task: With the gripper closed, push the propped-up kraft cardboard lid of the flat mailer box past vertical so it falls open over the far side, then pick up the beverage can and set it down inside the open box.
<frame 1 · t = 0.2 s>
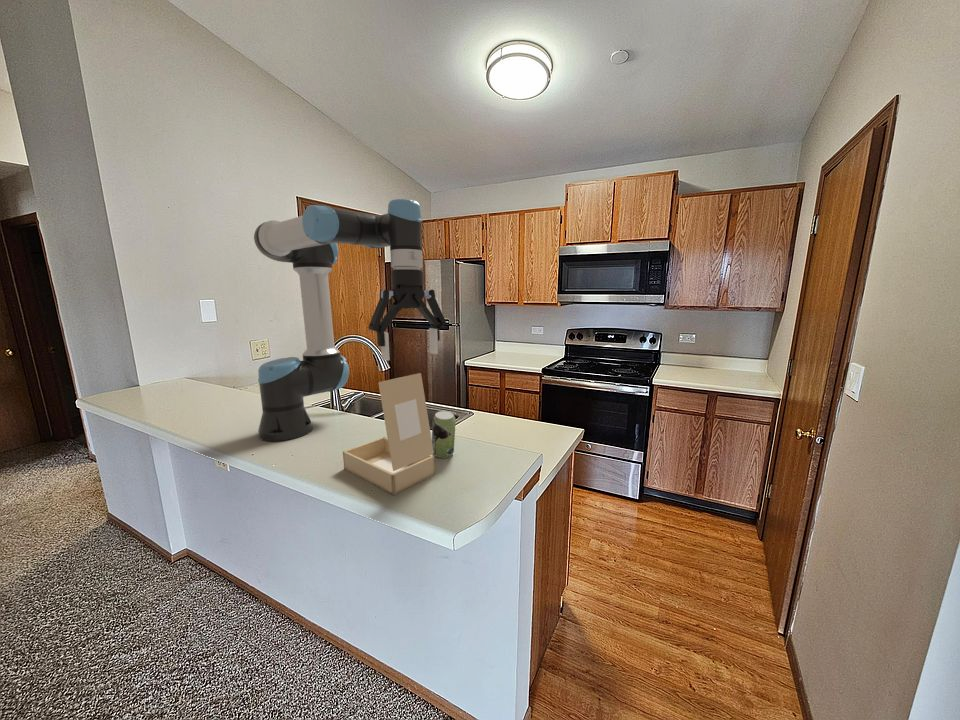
hand: (410, 356, 94), 27 cm above the table, fingers open, 13 cm apart
mailer box: (389, 471, 93), on the table
beverage can: (444, 456, 101), on the table
lid: (407, 419, 85), point 15 cm above the table, hinge at 80.0°
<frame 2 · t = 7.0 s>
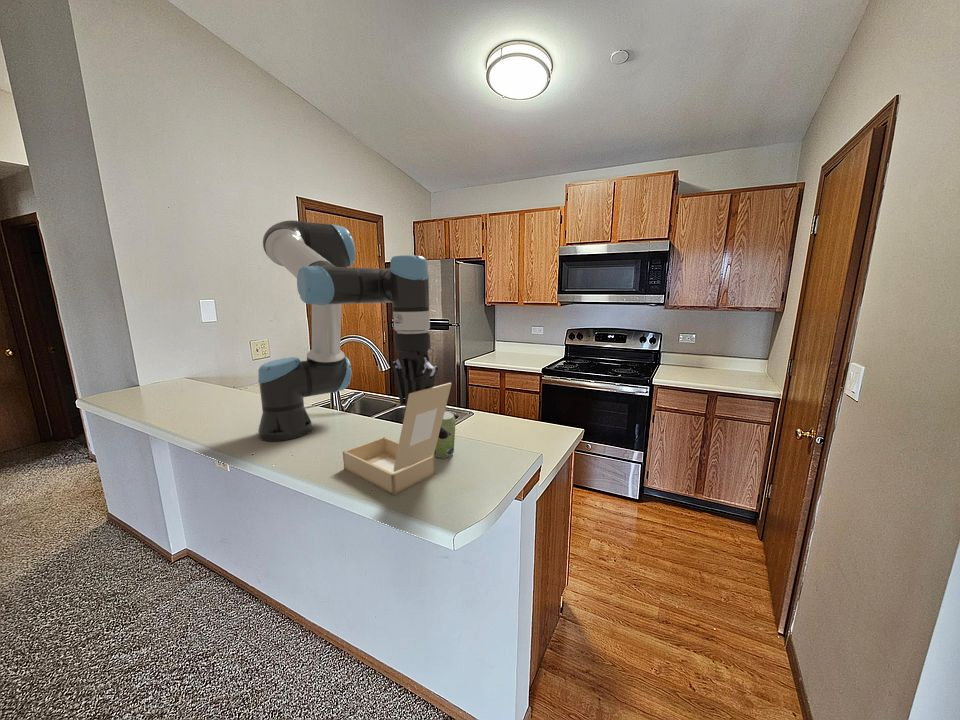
hand: (416, 437, 84), 11 cm above the table, fingers closed
lid: (422, 426, 82), point 14 cm above the table, hinge at 109.8°, touching gripper
everything else where it was.
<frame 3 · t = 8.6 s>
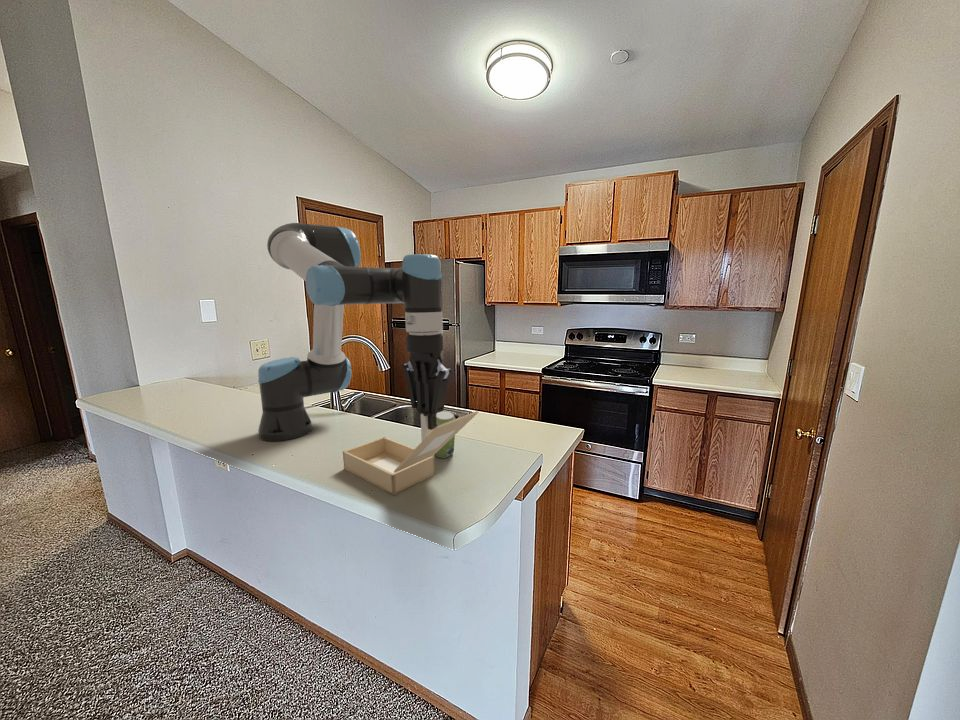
hand: (428, 442, 81), 11 cm above the table, fingers closed
lid: (435, 442, 80), point 12 cm above the table, hinge at 136.7°
everything else where it was.
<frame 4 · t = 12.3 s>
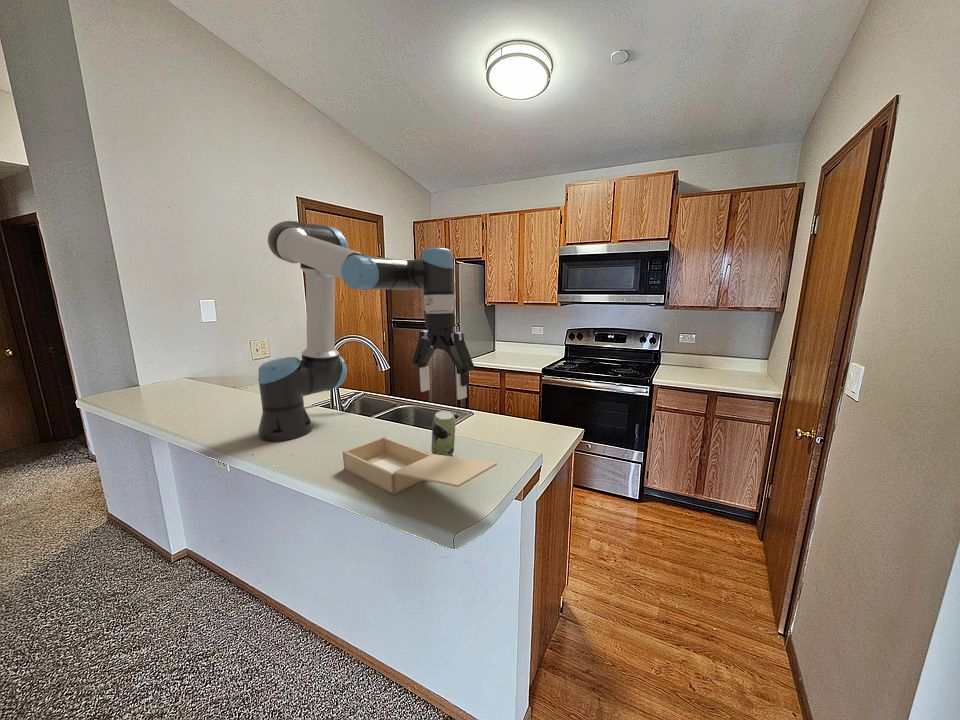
hand: (442, 394, 98), 17 cm above the table, fingers open, 13 cm apart
lid: (444, 468, 79), point 7 cm above the table, hinge at 170.1°
everything else where it was.
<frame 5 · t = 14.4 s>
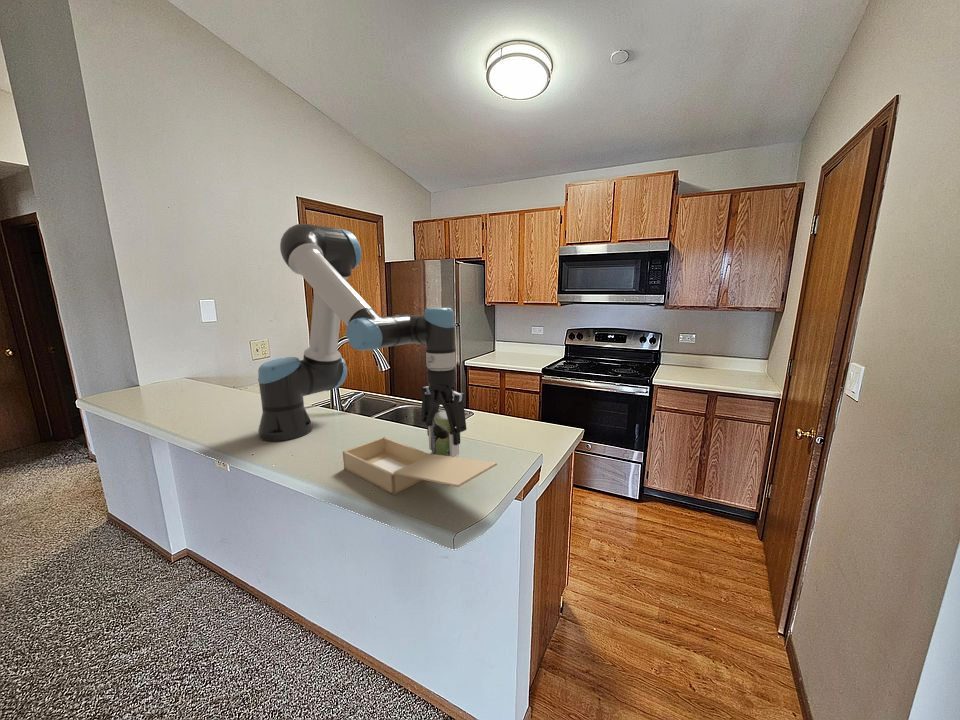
hand: (443, 451, 101), 1 cm above the table, fingers closed on beverage can, 7 cm apart
beverage can: (444, 456, 101), on the table, touching gripper
everything else where it was.
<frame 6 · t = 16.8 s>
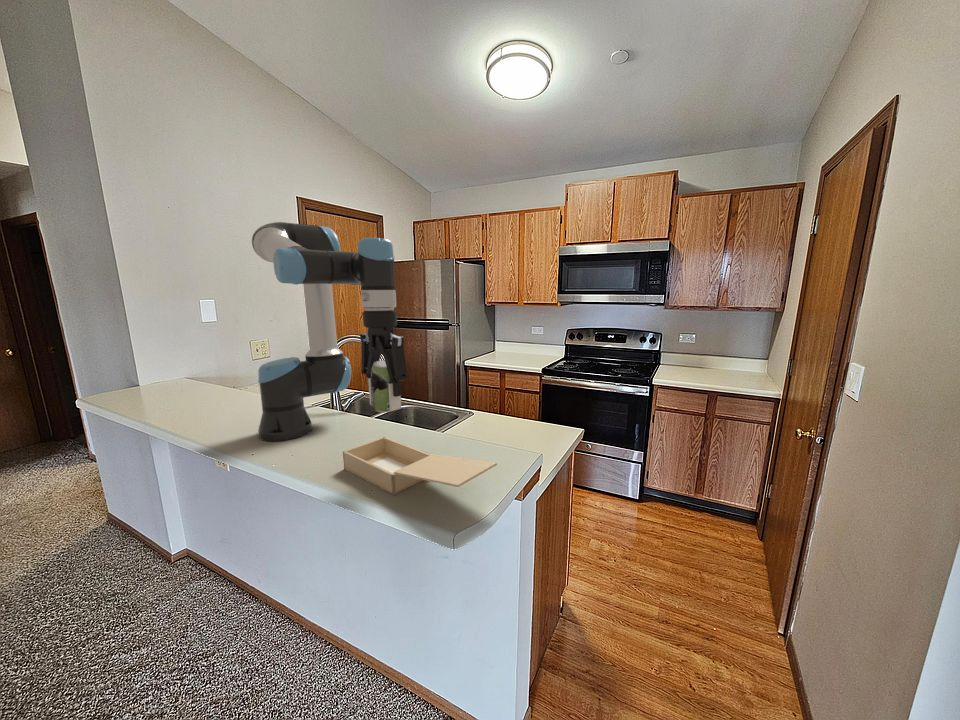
hand: (385, 406, 90), 17 cm above the table, fingers closed on beverage can, 7 cm apart
beverage can: (385, 411, 90), point 15 cm above the table, touching gripper
everything else where it was.
when the fingers open (4 cm above the table, at t = 19.5 s): beverage can drops 2 cm, resting on mailer box.
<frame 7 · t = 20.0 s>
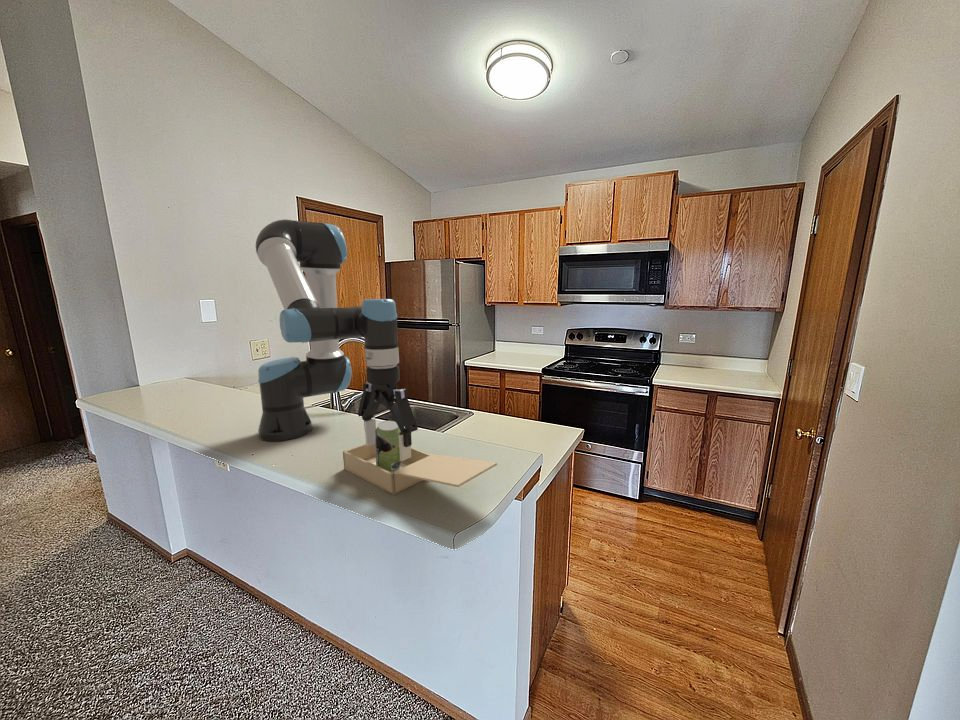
hand: (387, 451, 92), 5 cm above the table, fingers open, 13 cm apart
beverage can: (390, 470, 92), resting on mailer box
everything else where it was.
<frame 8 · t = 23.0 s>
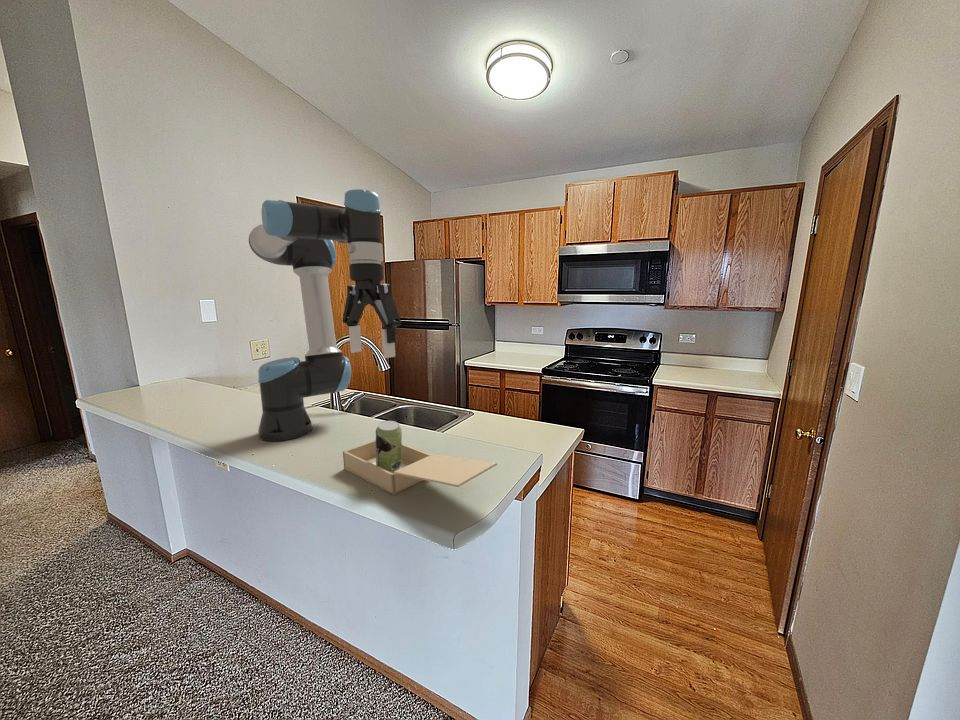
hand: (372, 354, 90), 29 cm above the table, fingers open, 13 cm apart
nothing on the table moved.
at the end: lid at +170° (first picture: +80°); beverage can inside the target area on the mailer box (0.3 cm from its centre), point 0.4 cm above the mailer box's base; beverage can tilted 0° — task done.
